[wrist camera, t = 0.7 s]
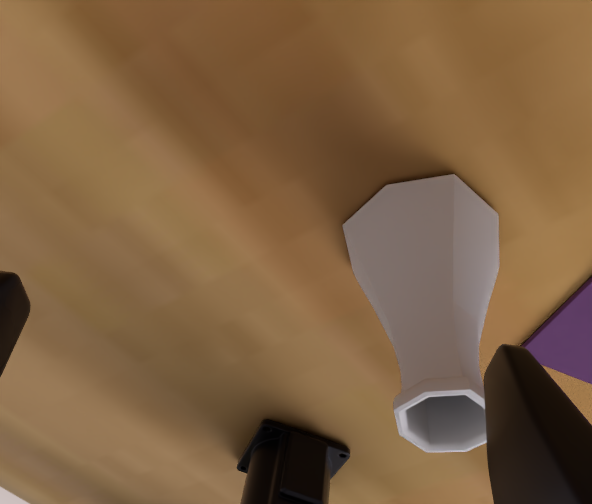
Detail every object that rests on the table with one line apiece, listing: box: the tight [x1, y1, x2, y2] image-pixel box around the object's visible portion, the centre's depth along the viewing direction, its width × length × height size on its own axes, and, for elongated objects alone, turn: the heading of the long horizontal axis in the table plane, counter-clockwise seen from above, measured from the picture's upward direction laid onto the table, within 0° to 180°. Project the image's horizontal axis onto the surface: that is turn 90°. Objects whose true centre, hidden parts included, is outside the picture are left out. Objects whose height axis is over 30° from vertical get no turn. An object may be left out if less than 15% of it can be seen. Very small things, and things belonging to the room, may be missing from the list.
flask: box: [342, 174, 499, 452], centre depth 19 cm, size 7×7×10 cm
